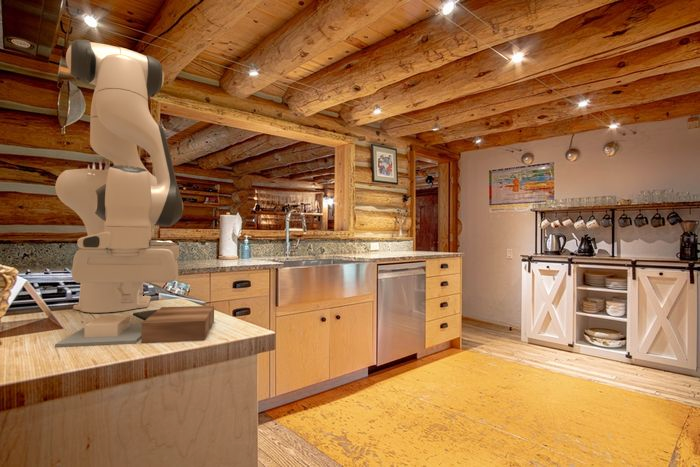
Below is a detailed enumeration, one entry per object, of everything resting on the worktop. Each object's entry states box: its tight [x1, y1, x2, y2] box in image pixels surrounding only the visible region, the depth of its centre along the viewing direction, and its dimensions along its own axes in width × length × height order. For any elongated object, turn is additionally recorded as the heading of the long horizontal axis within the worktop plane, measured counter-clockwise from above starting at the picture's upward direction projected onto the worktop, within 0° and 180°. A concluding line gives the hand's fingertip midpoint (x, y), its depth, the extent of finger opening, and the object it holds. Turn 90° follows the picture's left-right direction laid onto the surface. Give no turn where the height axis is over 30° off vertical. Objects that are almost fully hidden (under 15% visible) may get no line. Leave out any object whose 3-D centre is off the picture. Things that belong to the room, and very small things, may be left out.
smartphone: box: [132, 309, 159, 321], centre depth 98 cm, size 7×1×15 cm
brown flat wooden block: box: [140, 305, 215, 344], centre depth 85 cm, size 16×12×4 cm
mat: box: [54, 322, 142, 348], centre depth 81 cm, size 15×14×1 cm
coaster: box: [83, 315, 131, 338], centre depth 81 cm, size 8×6×2 cm
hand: (127, 302), depth 83 cm, fingers closed
